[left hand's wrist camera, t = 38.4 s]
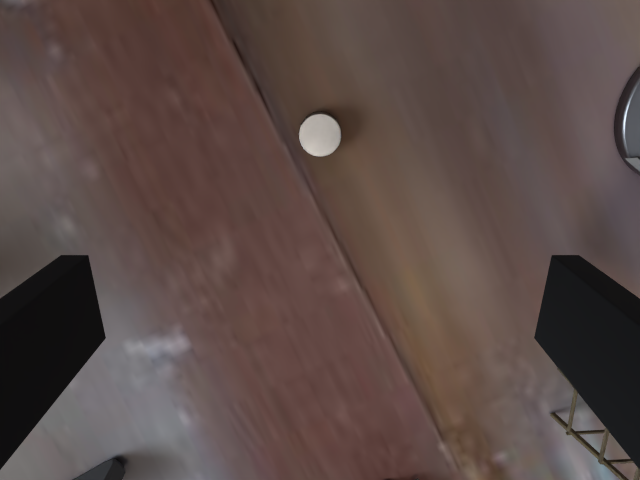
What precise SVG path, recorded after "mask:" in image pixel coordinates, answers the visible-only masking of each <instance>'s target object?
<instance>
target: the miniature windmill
mask: <svg viewBox="0 0 640 480" xmlns="http://www.w3.org/2000/svg"><path fill="white" fill-rule="evenodd" d="M558 370H559V371H560V369H559V368H558ZM560 373H561V374H562V375H563V376H564V374H563V373H562V372H561V371H560ZM564 377H565V376H564ZM565 378H566V377H565ZM566 380H567V381H568V379H567V378H566ZM568 382H569V381H568ZM569 383H570V382H569ZM570 384H571V383H570ZM571 385H572V384H571ZM573 388H574V387H573ZM577 394H578V392H577V391H576V389H575V388H574V394H573V399H572V405H571V410H570V416H569V422H568V424H566V423H565V422H564V421H563V420H562V419H561V418H560V417H559V416H558V415H556V414H555V413H551V414H550V416H551V417H552V418H553V419H555V420H556V421H557V422H558V423H559V424H560V425H561V426H562V427H563V428H564V429H565V430H567V432H566V434H567V435H572V436H573V437H574V438H575V439H576V440H578V441H579V442H580V443H581V444H582V445H583V446H584V447H585V448H586V449H587V450H589V451H590V452H591V453H592V454H593V455H594V456H595V457H596V458H597V459H598V462H599V463H600V464H604V465H605V466H606V467H607V468H608V469H609V470H610V471H612V472H613V473H614V474H615V475H616V476H617V477H618V478H619V479H620V480H628V479H627V478H626V477H625V476H624V475H623V474H622V473H621V472H620V471H618V470H617V469H616V468H615V467H614V466H613V465H612V464H618V463H634V462H633V461H632V459H621V460H606V459H605V458H604V453H605V449H606V444H607V440H608V435H609V433H610V432H609V431H608V429H607V428H605V430H591V431H574V430H573V429H572V428H571V426H572V421H573V416H574V410H575V405H576V399H577ZM579 395H580V394H579ZM598 433H604V437H603V441H602V446H601V450H600V453H599V452H597V451H596V450H595V449H594V448H593V447H592V446H591V445H590V444H589V443H587V442H586V441H585V440H584V439H583V438H582V437H581V436H580V435H579V434H598ZM639 478H640V469H639V468H638V467H637V469H636V472H635V476H634V480H639Z"/></svg>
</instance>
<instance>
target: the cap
mask: <svg viewBox="0 0 640 480" xmlns="http://www.w3.org/2000/svg"><path fill="white" fill-rule="evenodd" d="M341 137H342V136H341V130H340V126H339V124H338V122H337V120H336V119H335V118H334V117H333V116H332V115H330V114H328V113H325V112H322V111H321V112H315V113H314V112H313V113H312V114H310V115H309V116H306V118H305V119H304V121H303V122H302V123H301V127H300V131H299V140H300V143H301V145H302V147H303V148H304V150H305V151H306V152H308V153H309V154H311V155H313V156H317V157H323V156H327V155H329V154H331V153H333V152H334V151H335V150H336V149H337V147H338V146H339V144H340V140H341Z"/></svg>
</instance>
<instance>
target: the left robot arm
mask: <svg viewBox="0 0 640 480" xmlns="http://www.w3.org/2000/svg"><path fill="white" fill-rule="evenodd" d="M614 133H615V141H616V145H617V148H618V151H619V153H620V155H621V157H622V159H623V160H624V162H625V163H626V164H627V165H628V166H629V167H630V168H631V169H632V170H633V171H634V172H635V173H637V174H639V175H640V66H639V68H638V69H637V70H636V71H635V73H634V74H633V75H632V77H631V78H630V80H629V81H628V83H627V85H626V87H625V89H624V91H623V93H622V95H621V97H620V100H619V103H618V106H617V110H616V115H615V123H614ZM105 338H106V337H105V332H104V328H103V323H102V318H101V314H100V309H99V304H98V299H97V295H96V290H95V285H94V281H93V276H92V271H91V266H90V262H89V257H88V255H61V256H59V257H58V258H57V259H55V260H54V261H52V262H51V263H50V264H48V265H47V266H45V267H44V268H43V269H41V270H40V271H38V272H37V273H36V274H34V275H33V276H31V277H30V278H29V279H27V280H26V281H24V282H23V283H22V284H20V285H19V286H17V287H16V288H15V289H13V290H12V291H10V292H9V293H8V294H6V295H5V296H3V297H2V298H1V299H0V469H1V468H2V467H3V466H4V464H5V463H6V462H7V461H8V459H9V458H10V457H11V456H12V454H13V453H14V452H15V451H16V449H17V448H18V447H19V446H20V444H21V443H22V442H23V441H24V439H25V438H26V437H27V436H28V434H29V433H30V432H31V431H32V429H33V428H34V427H35V426H36V424H37V423H38V422H39V421H40V419H41V418H42V417H43V416H44V414H45V413H46V412H47V411H48V409H49V408H50V407H51V406H52V404H53V403H54V402H55V401H56V399H57V398H58V397H59V396H60V394H61V393H62V392H63V391H64V389H65V388H66V387H67V386H68V384H69V383H70V382H71V381H72V379H73V378H74V377H75V376H76V374H77V373H78V372H79V371H80V369H81V368H82V367H83V366H84V364H85V363H86V362H87V361H88V359H89V358H90V357H91V356H92V354H93V353H94V352H95V351H96V349H97V348H98V347H99V346H100V344H101V343H102V342H103V341H104V339H105ZM534 338H535V339H536V341H537V342H538V343H539V344H540V346H541V347H542V348H543V349H544V351H545V352H546V353H547V354H548V356H549V357H550V358H551V359H552V361H553V362H554V363H555V364H556V366H557V367H558V368H559V369H560V371H561V372H562V373H563V374H564V376H565V377H566V378H567V379H568V381H569V382H570V383H571V384H572V386H573V387H574V388H575V389H576V391H577V392H578V393H579V394H580V396H581V397H582V398H583V399H584V401H585V402H586V403H587V404H588V406H589V407H590V408H591V409H592V411H593V412H594V413H595V414H596V416H597V417H598V418H599V419H600V421H601V422H602V423H603V424H604V426H605V427H606V428H607V429H608V431H609V432H610V433H611V434H612V436H613V437H614V438H615V439H616V441H617V442H618V443H619V444H620V446H621V447H622V448H623V449H624V451H625V452H626V453H627V454H628V456H629V457H630V458H631V459H632V461H633V462H634V463H635V464H636V466H637V467H638V468H639V469H640V299H639V298H638V297H637V296H635V295H634V294H632V293H631V292H630V291H628V290H627V289H625V288H624V287H623V286H621V285H620V284H618V283H617V282H616V281H614V280H613V279H611V278H610V277H609V276H607V275H606V274H604V273H603V272H602V271H600V270H599V269H597V268H596V267H595V266H593V265H592V264H590V263H589V262H588V261H586V260H585V259H583V258H582V257H581V256H579V255H552V257H551V262H550V266H549V271H548V276H547V281H546V285H545V290H544V295H543V299H542V304H541V309H540V314H539V318H538V323H537V328H536V332H535V337H534Z"/></svg>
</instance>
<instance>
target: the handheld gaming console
mask: <svg viewBox="0 0 640 480" xmlns="http://www.w3.org/2000/svg"><path fill="white" fill-rule="evenodd" d="M124 474H125V469H124V466H123V465H122V464H121V463H120V462H119V461H118V460H116V459H111V460H109V461H107V462H104V463H102V464H101V465H99V466H97V467H95V468H94V469H92V470H90V471H88V472H87V473H85V474H83V475H81V476H79V477H78V478H76V479H74V480H122V478H123V476H124Z"/></svg>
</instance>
